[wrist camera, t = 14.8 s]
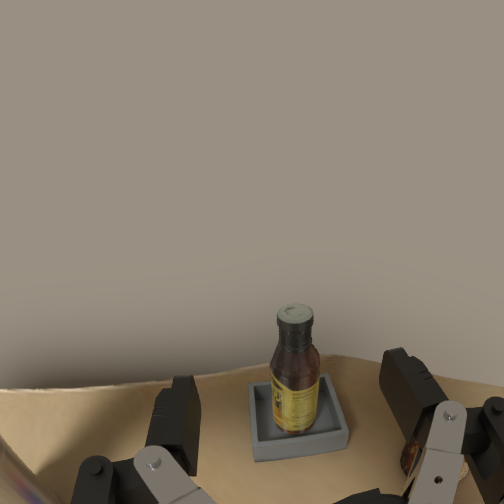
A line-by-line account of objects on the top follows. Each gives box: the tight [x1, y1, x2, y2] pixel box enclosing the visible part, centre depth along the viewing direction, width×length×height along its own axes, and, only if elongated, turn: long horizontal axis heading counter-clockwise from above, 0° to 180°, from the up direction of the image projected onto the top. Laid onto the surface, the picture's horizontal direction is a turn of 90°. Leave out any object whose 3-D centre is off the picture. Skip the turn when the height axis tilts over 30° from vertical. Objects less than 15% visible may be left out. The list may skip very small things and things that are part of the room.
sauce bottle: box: [270, 304, 320, 435], centre depth 39 cm, size 6×6×20 cm
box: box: [248, 373, 350, 462], centre depth 42 cm, size 13×13×4 cm
